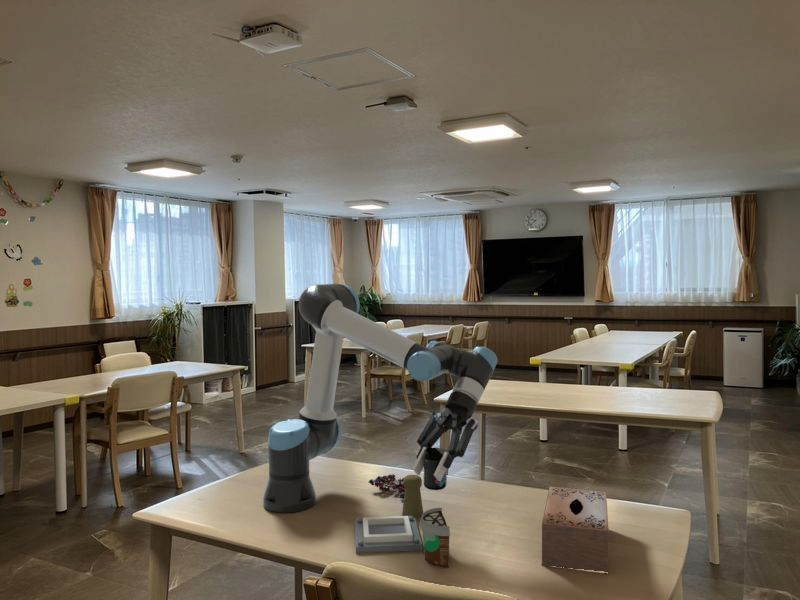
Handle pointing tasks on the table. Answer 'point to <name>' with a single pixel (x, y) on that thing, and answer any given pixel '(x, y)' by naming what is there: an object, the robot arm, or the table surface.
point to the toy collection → (384, 484)
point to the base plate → (387, 534)
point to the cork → (412, 497)
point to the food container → (435, 538)
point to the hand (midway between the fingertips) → (426, 475)
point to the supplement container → (433, 468)
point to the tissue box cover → (575, 529)
